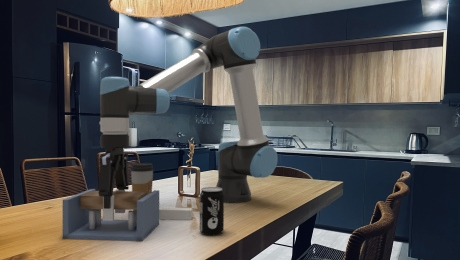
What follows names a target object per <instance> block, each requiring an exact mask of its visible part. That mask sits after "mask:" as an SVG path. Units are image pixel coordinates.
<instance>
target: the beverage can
mask: <svg viewBox="0 0 460 260" xmlns="http://www.w3.org/2000/svg"><path fill="white" fill-rule="evenodd" d="M224 208H225V202H224V194H223V192H222V188H219V187H216V186H208V187H207V186H206V187H202V188H201V191H200V193H199V231H200V232H201V234H202V235H204V236H218V235H221V234H222V232H224V230H225V229H224V228H225V226H224V225H225V224H224V223H225V222H224V221H225V220H224V217H225V216H224V215H225V214H224V213H225V209H224Z"/></svg>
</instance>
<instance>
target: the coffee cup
mask: <svg viewBox="0 0 460 260" xmlns="http://www.w3.org/2000/svg"><path fill="white" fill-rule="evenodd" d="M130 173H131V191H139V192H147V195H148V194H149V193H151V192H153V177H154V166H153V163H152V162H151V163H150V162H142V163H141V162H140V163H138V162H137V163H133V164H131V167H130Z"/></svg>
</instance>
